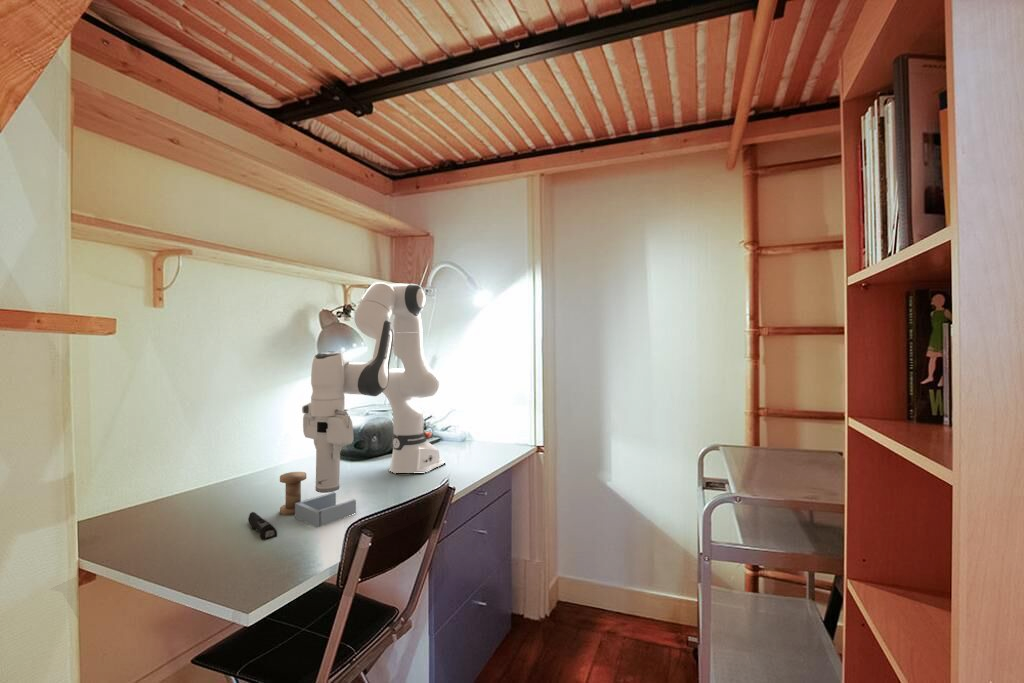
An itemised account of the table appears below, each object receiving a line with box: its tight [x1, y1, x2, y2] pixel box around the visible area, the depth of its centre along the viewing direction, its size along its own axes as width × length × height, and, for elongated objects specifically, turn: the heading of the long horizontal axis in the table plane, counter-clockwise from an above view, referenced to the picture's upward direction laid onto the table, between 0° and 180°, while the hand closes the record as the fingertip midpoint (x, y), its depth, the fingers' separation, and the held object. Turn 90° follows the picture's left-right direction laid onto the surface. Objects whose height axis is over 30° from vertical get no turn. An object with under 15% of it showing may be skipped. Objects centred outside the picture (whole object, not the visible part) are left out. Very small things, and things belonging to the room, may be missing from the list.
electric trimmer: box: [247, 511, 278, 541], centre depth 117 cm, size 4×16×3 cm, turn 44°
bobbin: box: [279, 471, 307, 516], centre depth 130 cm, size 7×7×10 cm
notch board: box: [294, 491, 357, 528], centre depth 127 cm, size 12×11×4 cm
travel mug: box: [315, 422, 341, 494], centre depth 127 cm, size 6×7×20 cm
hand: (327, 457), depth 127 cm, fingers closed on travel mug, 6 cm apart
